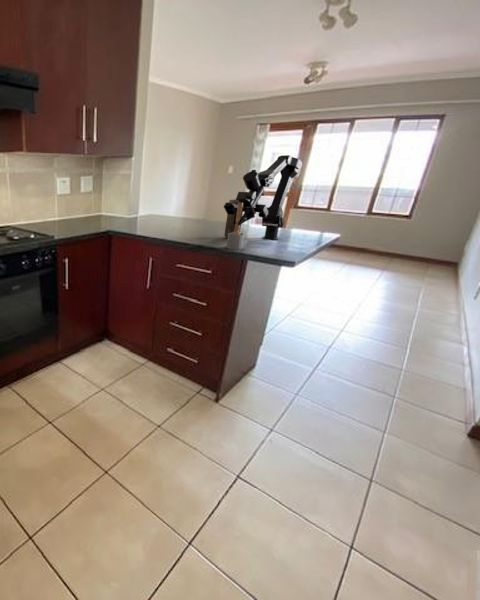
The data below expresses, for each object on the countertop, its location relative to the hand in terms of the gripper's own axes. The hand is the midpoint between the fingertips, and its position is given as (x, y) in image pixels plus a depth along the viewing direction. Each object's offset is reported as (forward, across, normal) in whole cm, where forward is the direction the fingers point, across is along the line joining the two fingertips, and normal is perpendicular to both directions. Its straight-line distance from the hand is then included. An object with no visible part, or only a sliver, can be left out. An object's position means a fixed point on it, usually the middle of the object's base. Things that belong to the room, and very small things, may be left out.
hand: (236, 224), depth 150 cm
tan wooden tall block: (-7, -14, +23) cm, 28 cm away
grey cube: (+7, 0, +9) cm, 11 cm away
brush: (+5, 0, +7) cm, 9 cm away
